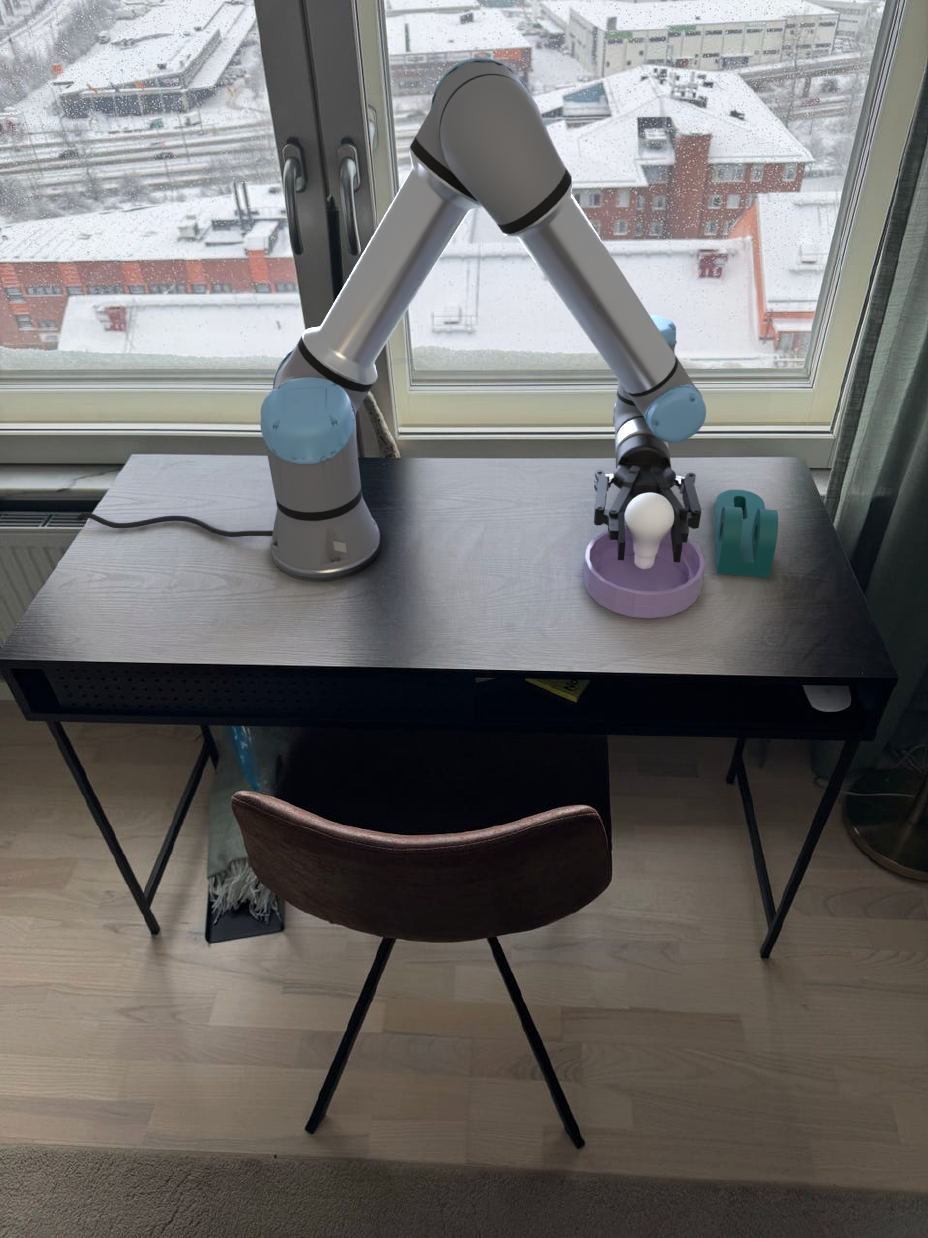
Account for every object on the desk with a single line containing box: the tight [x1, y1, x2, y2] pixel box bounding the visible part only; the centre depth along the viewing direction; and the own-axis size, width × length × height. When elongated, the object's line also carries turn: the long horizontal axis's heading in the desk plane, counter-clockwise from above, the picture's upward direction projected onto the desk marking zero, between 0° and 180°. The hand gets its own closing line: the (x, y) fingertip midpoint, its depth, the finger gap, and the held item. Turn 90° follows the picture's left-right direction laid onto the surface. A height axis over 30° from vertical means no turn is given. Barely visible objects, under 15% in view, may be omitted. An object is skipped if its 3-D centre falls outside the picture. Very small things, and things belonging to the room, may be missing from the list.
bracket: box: [713, 489, 779, 579], centre depth 129 cm, size 18×7×8 cm, turn 170°
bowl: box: [583, 525, 706, 619], centre depth 122 cm, size 15×15×4 cm
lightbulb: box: [624, 493, 674, 569], centre depth 118 cm, size 6×6×11 cm
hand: (649, 552), depth 114 cm, fingers closed on lightbulb, 6 cm apart
